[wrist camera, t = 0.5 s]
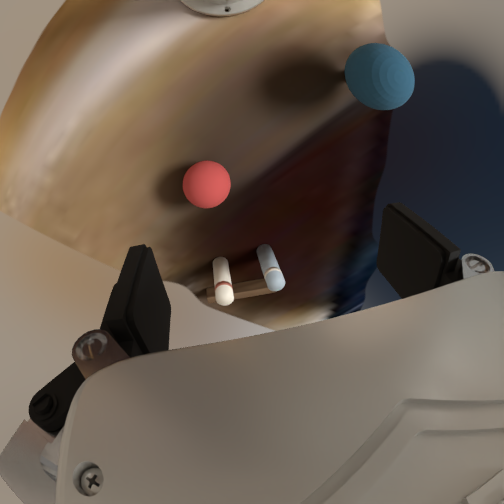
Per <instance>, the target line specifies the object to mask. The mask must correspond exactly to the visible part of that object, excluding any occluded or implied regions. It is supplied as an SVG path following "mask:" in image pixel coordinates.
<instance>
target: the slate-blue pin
mask: <svg viewBox="0 0 504 504" xmlns="http://www.w3.org/2000/svg"><path fill="white" fill-rule="evenodd" d="M256 252H257V256H258V259H259V262H260V265H261V268H262V271H263V274H264V278H265V281H266V283H267V286H268V289H269V290H271V291H279V290H281V289H282V288H283V287H284V285H285V280H284V278H283V275H282V272H281V270H280V268H279V266H278V263H277V261H276V258H275V256H274V253H273V251H272V249H271V247H270V246H269V245H267V244H262V245H260V246H259V247H258V248H257V251H256Z"/></svg>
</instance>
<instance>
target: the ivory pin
mask: <svg viewBox="0 0 504 504" xmlns="http://www.w3.org/2000/svg"><path fill="white" fill-rule="evenodd" d="M213 273H214V284H215V295H216V301H217V303H218V304H220V305H229V304H231V303H232V302H233V300H234V295H233V289H232V284H231V278H230V272H229V265H228V261H227V259H226V258H224V257H217V258H215V259H214V261H213Z"/></svg>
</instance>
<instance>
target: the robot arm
mask: <svg viewBox="0 0 504 504" xmlns="http://www.w3.org/2000/svg"><path fill="white" fill-rule="evenodd" d="M180 1H181V2H182V3H183V4H185V5H186V6H187V7H189V8H190V9H192V10H194V11H196V12H199V13H201V14H206V15H210V16H232V15H238V14H241V13H244V12H247V11H249V10H251V9H253V8H255V7H257V6H258V5H259V4H260V3H262V2H263V1H264V0H180ZM226 9H227V10H229V12H225V10H226ZM459 254H460V249H459V248H458V247H457V246H456V245H455V244H453V243H452V242H451V241H450V240H449V239H447V238H446V237H445V236H444V235H442V234H441V233H440V232H439V231H438V230H436V229H435V228H434V227H432V226H431V225H430V224H429V223H427V222H426V221H425V220H423V219H422V218H421V217H419V216H418V215H417V214H415V213H414V212H413V211H411V210H410V209H409V208H407V207H406V206H405V205H403V204H402V203H400V202H399V203H392V204H388V205H387V206H386V208H384V210H383V216H382V226H381V234H380V242H379V249H378V256H377V267H378V269H379V271H380V272H381V273H382V275H383V276H384V277H385V278H386V279H387V281H388V282H389V283H390V284H391V286H392V287H393V288H394V289H395V291H396V292H397V293H398V294H399V296H400V297H401V298H402V299H401V300H397V301H394V302H390V303H387V304H383V305H380V306H376V307H373V308H369V309H366V310H362V311H358V312H354V313H351V314H347V315H343V316H339V317H335V318H331V319H327V320H323V321H319V322H315V323H311V324H306V325H302V326H297V327H293V328H288V329H284V330H279V331H274V332H270V333H265V334H260V335H254V336H249V337H244V338H239V339H233V340H228V341H222V342H216V343H210V344H204V345H197V346H191V347H185V348H180V349H173V350H168V349H169V332H170V317H171V305H170V301H169V298H168V296H167V293H166V290H165V287H164V284H163V282H162V279H161V276H160V273H159V270H158V267H157V264H156V261H155V258H154V255H153V252H152V249H151V247H146V245H145V244H143V245H138V246H133V247H130V248H129V251H128V254H127V256H126V259H125V262H124V265H123V267H122V270H121V273H120V276H119V279H118V282H117V283H116V284H115V285H114V287H113V290H112V292H111V295H110V298H109V302H108V304H107V308H106V311H105V314H104V317H103V321H102V324H101V327H100V329H96V330H92V331H88V332H86V333H85V334H83V335H82V336H81V337H79V338H78V340H77V341H76V342H75V344H74V346H73V348H72V357H73V359H74V361H75V362H74V363H73V364H71V365H70V366H69V367H68V368H67V369H65V370H64V371H63V372H62V373H60V374H59V375H58V376H57V377H55V378H54V379H53V380H52V381H51V382H49V383H48V384H47V385H46V386H44V387H43V388H42V389H41V390H39V391H38V392H37V393H36V394H35V395H34V396H33V398H32V400H31V402H30V405H29V415H30V419H29V421H28V422H27V421H26V420H23V422H22V423H21V425H20V426H19V428H18V429H17V431H16V432H15V434H14V435H13V436H12V438H11V439H10V441H9V442H8V444H7V445H6V447H5V448H4V450H3V452H2V453H1V455H0V475H1V477H2V478H3V480H4V481H5V482H6V483H7V485H8V486H9V487H10V488H11V490H12V491H13V492H14V493H15V494H16V495H17V496H18V498H19V499H20V500H21V501H22V502H23V503H24V504H504V272H494V270H493V267H492V265H491V263H490V262H489V261H488V260H486V259H485V258H483V257H482V256H479V255H476V254H467V255H464V256H463V257H462V260H460V259H459Z"/></svg>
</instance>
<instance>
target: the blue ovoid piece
mask: <svg viewBox="0 0 504 504" xmlns="http://www.w3.org/2000/svg"><path fill="white" fill-rule="evenodd" d="M345 79H346V83H347V85H348V87H349V90H350V91H351V92H352V94H353V95H354V96H355V97H356V98H357V99H358V100H359V101H360V102H362V103H363V104H364V105H367V106H369V107H371V108H374V109H378V110H390V109H394V108H397V107H399V106H401V105H403V104H404V103H405V102H406V101H407V100H408V99H409V98H410V96H411V94H412V92H413V89H414V82H415V81H414V73H413V70H412V67H411V65H410V63H409V62H408V60H407V59H406V58H405V56H403V55H402V54H401V53H400V52H399V51H398V50H396V49H394V48H393V47H390V46H388V45H385V44H379V43H370V44H366V45H363V46H360V47H358V48H357V49H355V50H354V51H353V52H352V54H351V55H350V56H349V58H348V59H347V62H346V65H345Z"/></svg>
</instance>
